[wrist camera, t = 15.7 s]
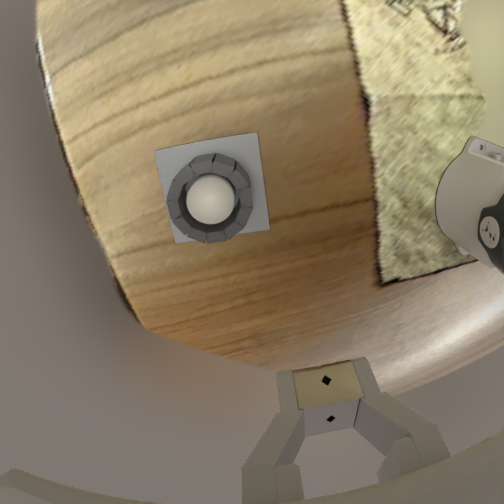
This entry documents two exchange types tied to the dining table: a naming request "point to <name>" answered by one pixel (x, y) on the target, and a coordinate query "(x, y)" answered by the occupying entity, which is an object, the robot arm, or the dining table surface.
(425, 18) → the dining table surface
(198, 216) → the cap
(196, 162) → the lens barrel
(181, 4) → the dining table surface
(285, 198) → the dining table surface
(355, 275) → the dining table surface
